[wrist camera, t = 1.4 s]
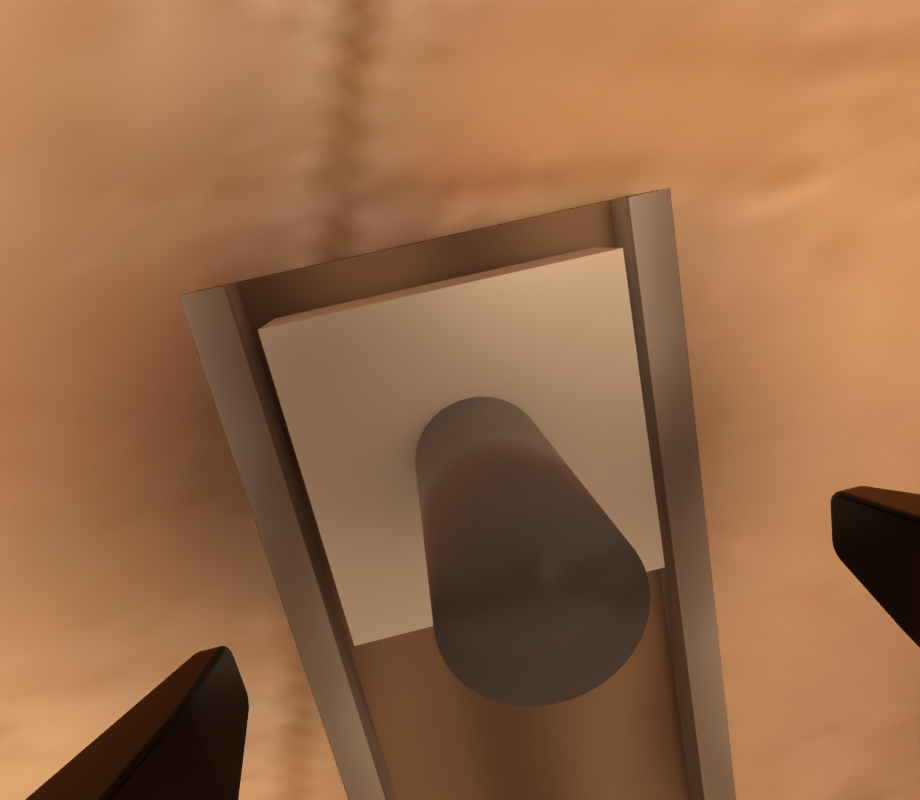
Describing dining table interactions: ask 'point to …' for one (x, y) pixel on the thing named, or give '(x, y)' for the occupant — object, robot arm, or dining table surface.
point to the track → (416, 653)
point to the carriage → (483, 468)
